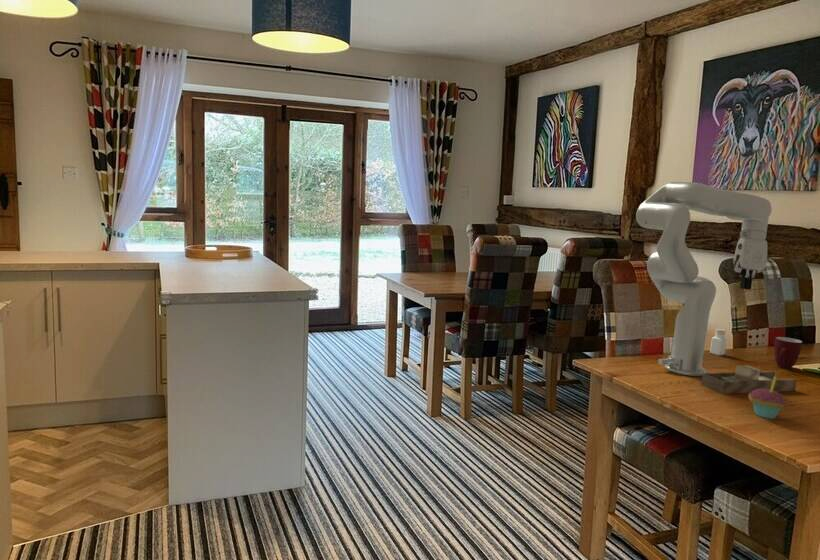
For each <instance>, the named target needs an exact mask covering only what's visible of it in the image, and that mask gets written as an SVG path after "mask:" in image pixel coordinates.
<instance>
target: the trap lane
mask: <svg viewBox="0 0 820 560" xmlns="http://www.w3.org/2000/svg"><path fill="white" fill-rule="evenodd" d="M775 373H776V371H773V370H769V371H765V370H764V371H763V370H760V374H759V380H750V381H739V380H737V379H734V378H735V371H734V372H732V371H731V372H706V373H702V376H701V381H700V385H702V386H704V387H706V388H708V389H711V390H712V391H715V392H718V393H720V394H722V395H724V394H726V395H727V394H745V393H746V394H749V393H750V392H751V391H753V390H754V389H755V390H756V389H758V388H765V389H769V390H770V388H771V385H772V381H773V378H774V377H775V375H776V374H775ZM796 386H797V379H796V378H789V379H788V378H783V379H778V378H777V379H776V382H775V385H774V389H773V391H777V392H795V391H796Z"/></svg>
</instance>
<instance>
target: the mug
mask: <svg viewBox="0 0 820 560" xmlns="http://www.w3.org/2000/svg"><path fill="white" fill-rule="evenodd" d="M773 346H774V360H775V362H776V365H777V367H779V368H782V369H788V370H791V369H792V368H793V367H794V366H795V364H796V363H797V361H798V359H799V355H800V353H801V351H802V347H803V341H802V340H800V339H798V338H797V339H796V338H791V337H786V336H776V337H775V339H774V345H773ZM790 368H791V369H790Z"/></svg>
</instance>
